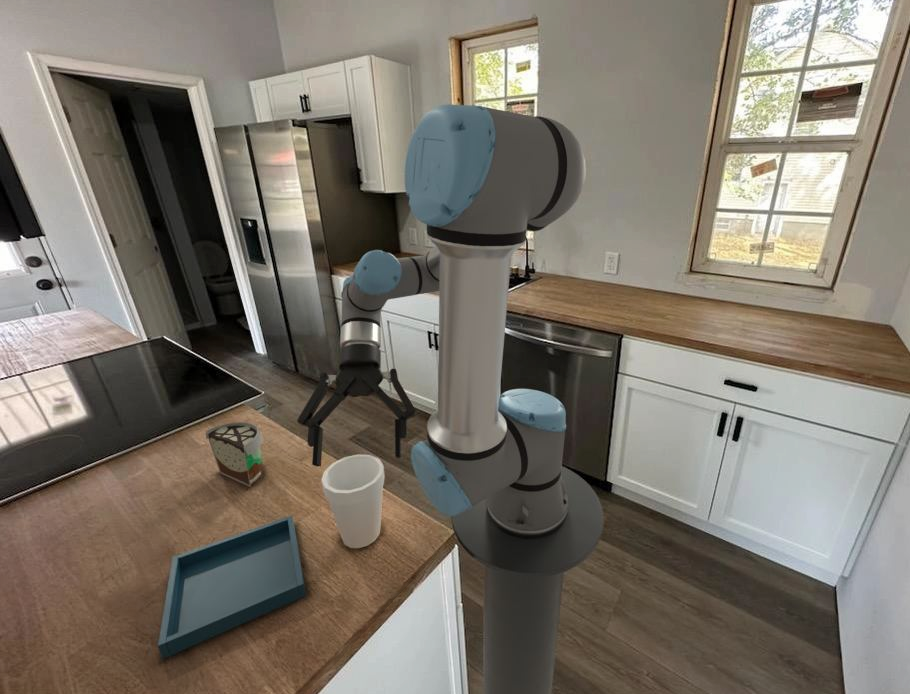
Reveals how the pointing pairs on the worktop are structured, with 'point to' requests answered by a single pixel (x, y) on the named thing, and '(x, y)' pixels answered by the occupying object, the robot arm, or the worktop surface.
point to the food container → (237, 451)
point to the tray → (230, 584)
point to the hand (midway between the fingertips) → (358, 461)
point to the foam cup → (355, 497)
